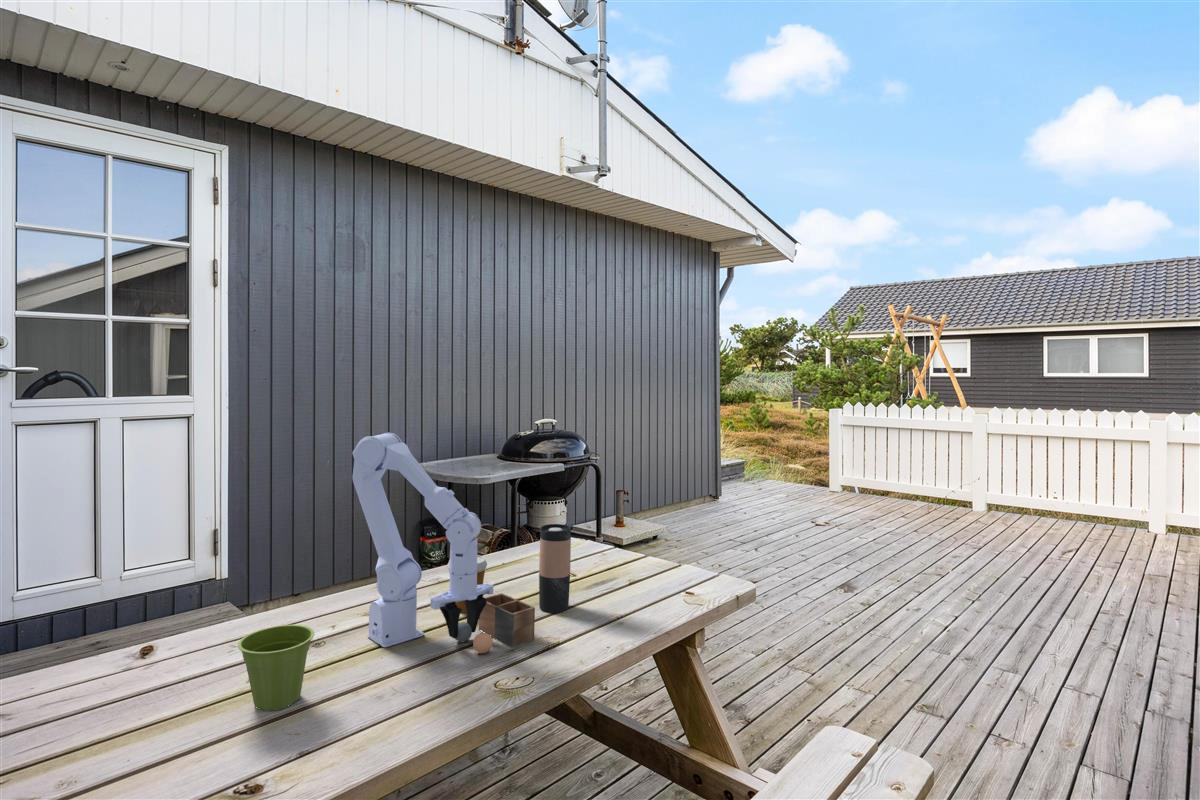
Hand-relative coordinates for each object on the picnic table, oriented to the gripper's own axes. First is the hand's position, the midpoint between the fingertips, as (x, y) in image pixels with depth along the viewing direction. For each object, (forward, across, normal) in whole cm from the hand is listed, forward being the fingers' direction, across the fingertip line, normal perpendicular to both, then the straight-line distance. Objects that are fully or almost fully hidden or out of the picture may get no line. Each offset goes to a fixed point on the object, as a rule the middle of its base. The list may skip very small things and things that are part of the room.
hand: (462, 633), depth 139 cm
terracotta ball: (+2, 0, -8) cm, 8 cm away
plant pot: (+2, -38, 0) cm, 38 cm away
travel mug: (+2, +28, +2) cm, 28 cm away
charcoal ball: (+2, 0, 0) cm, 2 cm away
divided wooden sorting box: (+2, +9, -4) cm, 10 cm away
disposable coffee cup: (+2, +12, +16) cm, 19 cm away
